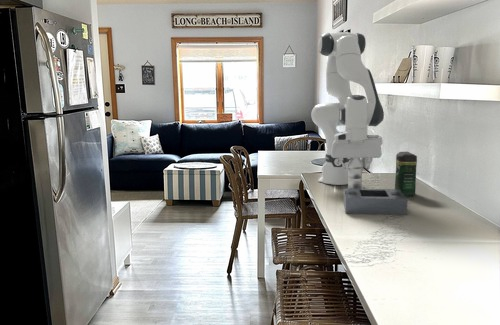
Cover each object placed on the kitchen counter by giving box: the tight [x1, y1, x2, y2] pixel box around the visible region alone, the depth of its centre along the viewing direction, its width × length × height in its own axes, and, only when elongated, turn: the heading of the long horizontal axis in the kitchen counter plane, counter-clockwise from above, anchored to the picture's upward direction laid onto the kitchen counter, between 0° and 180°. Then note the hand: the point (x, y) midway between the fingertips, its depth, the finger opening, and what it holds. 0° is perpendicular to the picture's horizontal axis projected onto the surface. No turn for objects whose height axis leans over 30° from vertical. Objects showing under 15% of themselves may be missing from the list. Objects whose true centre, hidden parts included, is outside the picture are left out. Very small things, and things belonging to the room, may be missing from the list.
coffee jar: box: [394, 151, 418, 197], centre depth 183 cm, size 10×8×19 cm
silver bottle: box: [347, 158, 364, 189], centre depth 177 cm, size 6×7×20 cm
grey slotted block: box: [342, 187, 408, 216], centre depth 164 cm, size 15×22×6 cm
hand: (355, 168), depth 176 cm, fingers open, 8 cm apart
